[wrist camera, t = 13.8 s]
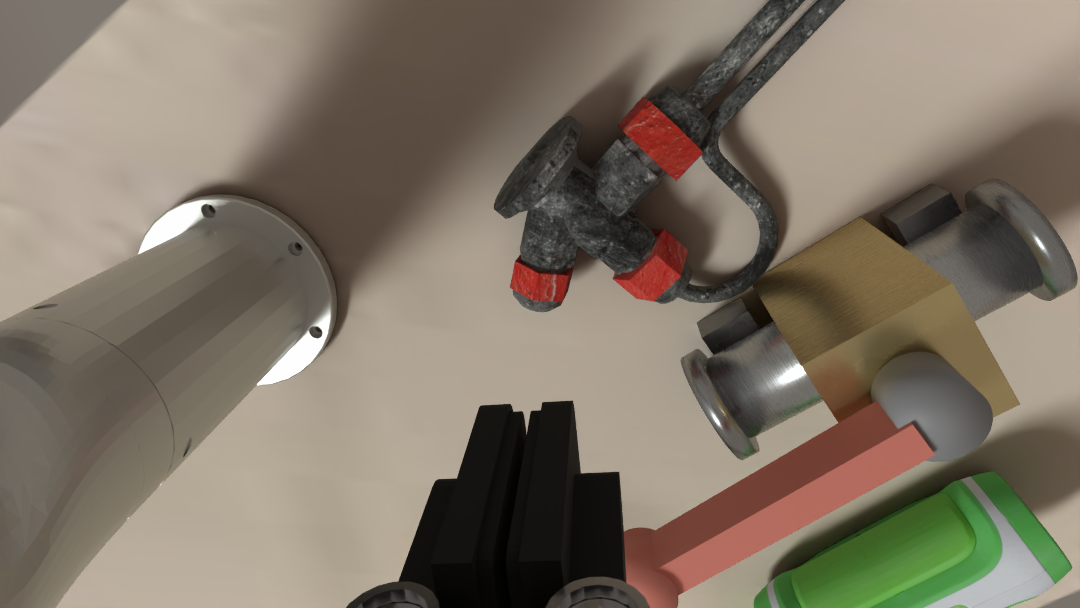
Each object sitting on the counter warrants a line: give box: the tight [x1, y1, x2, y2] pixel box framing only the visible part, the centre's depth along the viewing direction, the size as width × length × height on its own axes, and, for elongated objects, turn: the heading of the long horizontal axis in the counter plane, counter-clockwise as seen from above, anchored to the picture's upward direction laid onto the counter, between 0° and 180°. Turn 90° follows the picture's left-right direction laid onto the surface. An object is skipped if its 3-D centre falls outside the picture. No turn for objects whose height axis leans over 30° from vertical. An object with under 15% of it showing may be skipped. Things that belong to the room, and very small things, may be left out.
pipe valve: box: [681, 179, 1078, 460], centre depth 36 cm, size 18×7×11 cm, turn 126°
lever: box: [624, 352, 993, 608], centre depth 31 cm, size 4×18×4 cm, turn 130°
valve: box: [494, 0, 845, 312], centre depth 37 cm, size 6×26×15 cm
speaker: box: [754, 471, 1072, 608], centre depth 44 cm, size 18×7×8 cm, turn 130°
